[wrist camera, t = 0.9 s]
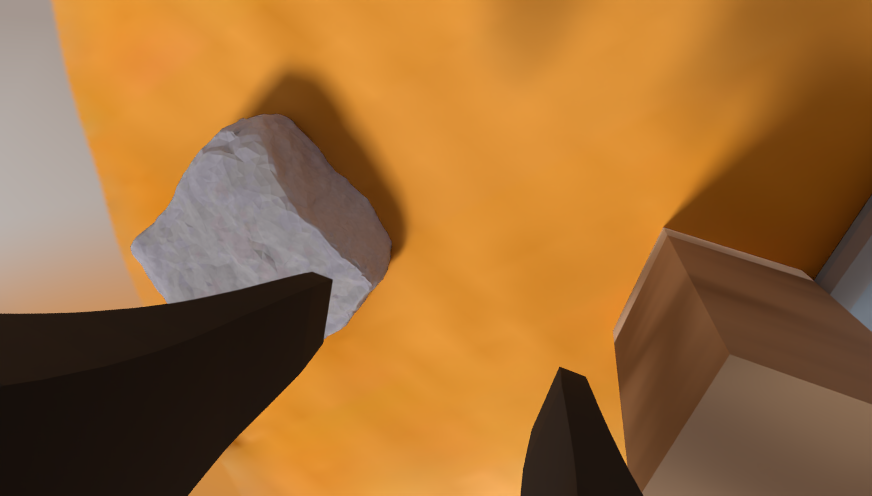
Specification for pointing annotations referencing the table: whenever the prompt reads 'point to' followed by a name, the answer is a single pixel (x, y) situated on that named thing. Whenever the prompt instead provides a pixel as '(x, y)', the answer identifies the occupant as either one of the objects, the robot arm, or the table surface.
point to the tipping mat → (852, 269)
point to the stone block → (265, 221)
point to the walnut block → (741, 378)
